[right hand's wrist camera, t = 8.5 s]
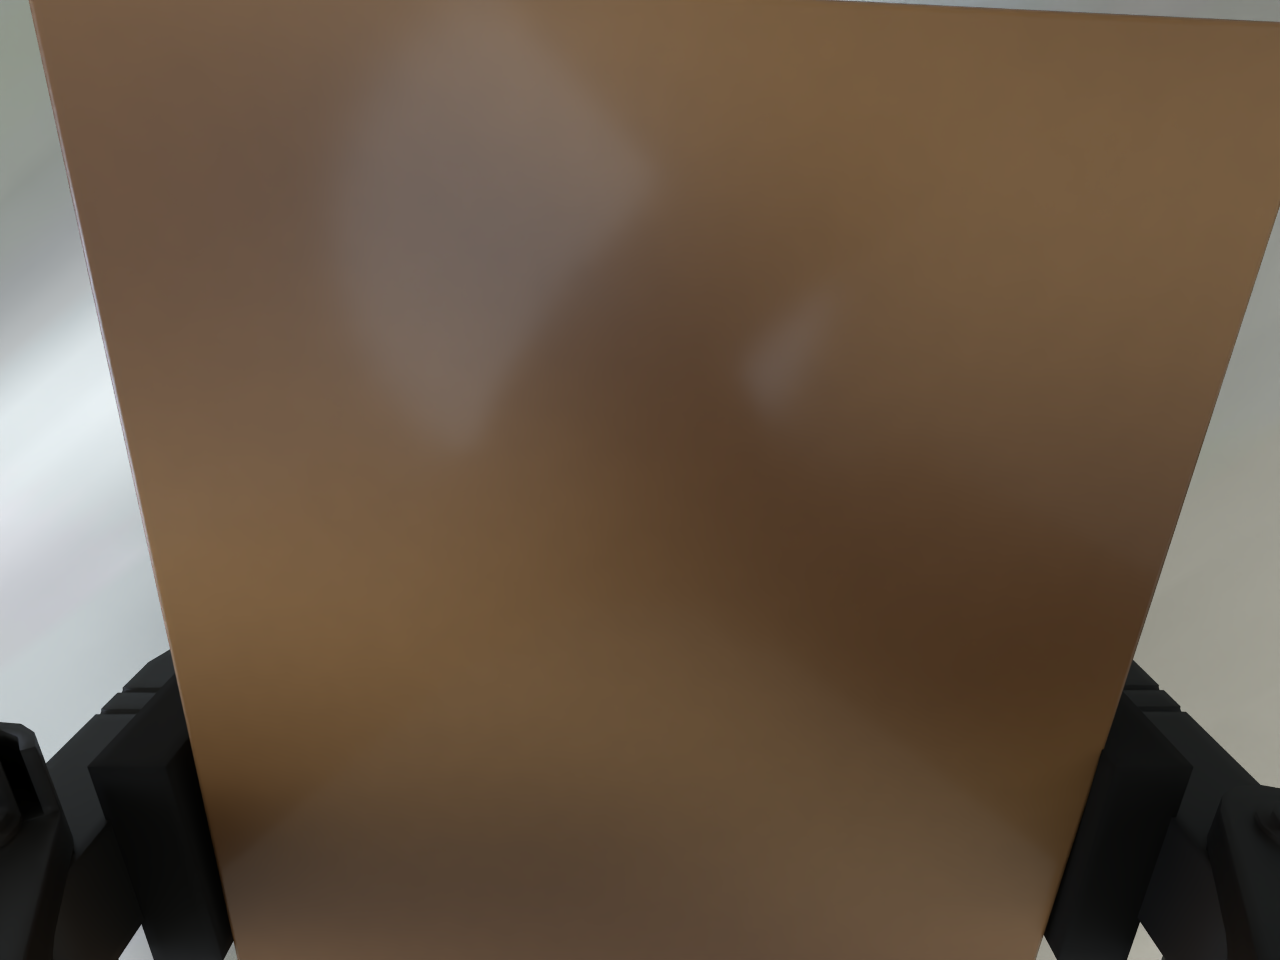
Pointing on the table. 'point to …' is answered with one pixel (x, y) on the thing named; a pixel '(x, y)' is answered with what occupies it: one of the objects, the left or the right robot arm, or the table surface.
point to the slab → (657, 445)
